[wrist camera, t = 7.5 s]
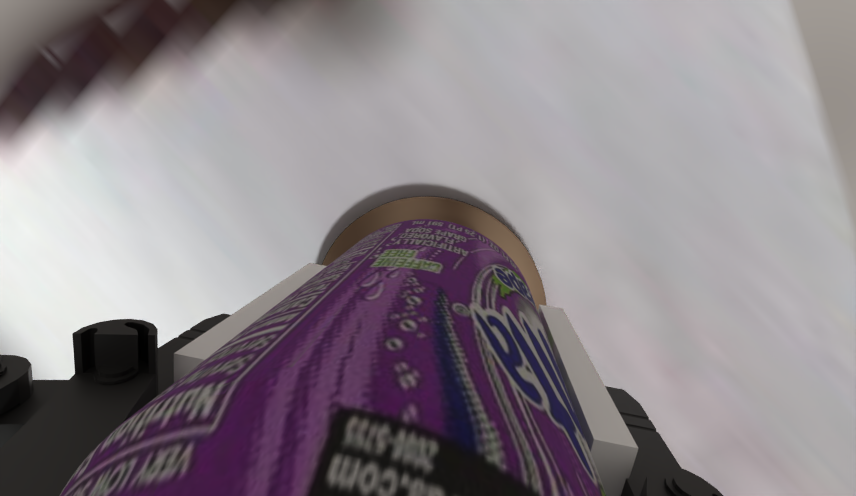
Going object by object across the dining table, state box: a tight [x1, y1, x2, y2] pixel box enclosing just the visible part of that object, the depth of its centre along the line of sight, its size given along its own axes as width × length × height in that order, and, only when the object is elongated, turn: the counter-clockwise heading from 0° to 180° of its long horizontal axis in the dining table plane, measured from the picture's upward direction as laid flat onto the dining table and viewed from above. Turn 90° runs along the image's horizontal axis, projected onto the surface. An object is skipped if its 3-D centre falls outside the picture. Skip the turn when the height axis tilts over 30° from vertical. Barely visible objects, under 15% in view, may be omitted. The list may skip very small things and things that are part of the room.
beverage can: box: [59, 219, 606, 496], centre depth 9 cm, size 7×7×12 cm
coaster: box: [322, 196, 546, 310], centre depth 28 cm, size 16×16×2 cm
